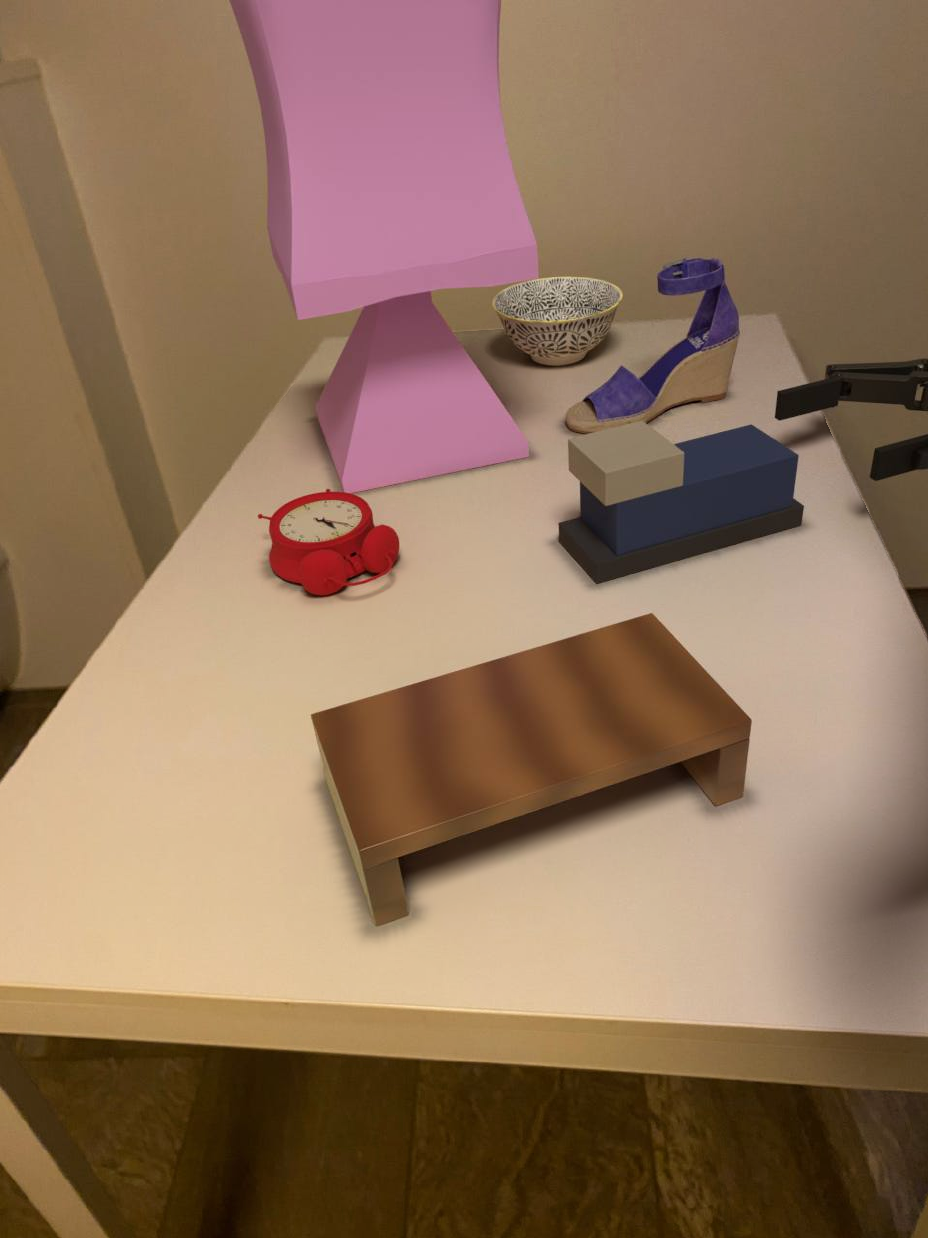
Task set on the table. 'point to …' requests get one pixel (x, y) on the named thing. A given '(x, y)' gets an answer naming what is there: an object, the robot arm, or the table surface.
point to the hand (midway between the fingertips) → (823, 433)
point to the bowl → (557, 316)
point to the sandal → (672, 357)
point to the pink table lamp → (391, 216)
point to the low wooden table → (521, 743)
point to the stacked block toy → (674, 496)
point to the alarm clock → (329, 541)
